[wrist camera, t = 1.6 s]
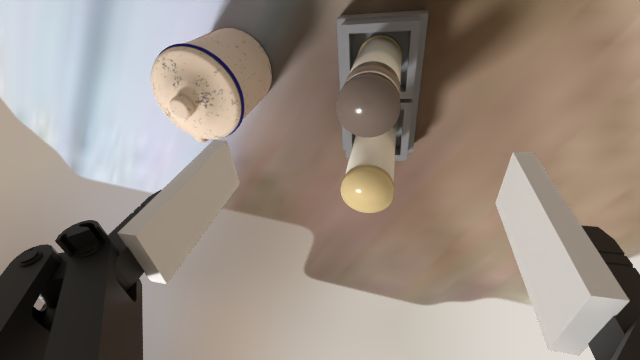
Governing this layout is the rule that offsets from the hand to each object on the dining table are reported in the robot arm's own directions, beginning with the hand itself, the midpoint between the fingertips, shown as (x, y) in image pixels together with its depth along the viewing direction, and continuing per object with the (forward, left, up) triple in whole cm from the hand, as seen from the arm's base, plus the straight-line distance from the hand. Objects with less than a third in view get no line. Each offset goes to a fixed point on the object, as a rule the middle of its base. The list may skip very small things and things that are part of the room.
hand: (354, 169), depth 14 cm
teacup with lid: (+2, -17, -21) cm, 27 cm away
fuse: (+7, 0, -18) cm, 20 cm away
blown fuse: (0, 0, -18) cm, 18 cm away
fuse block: (+3, 0, -20) cm, 21 cm away
